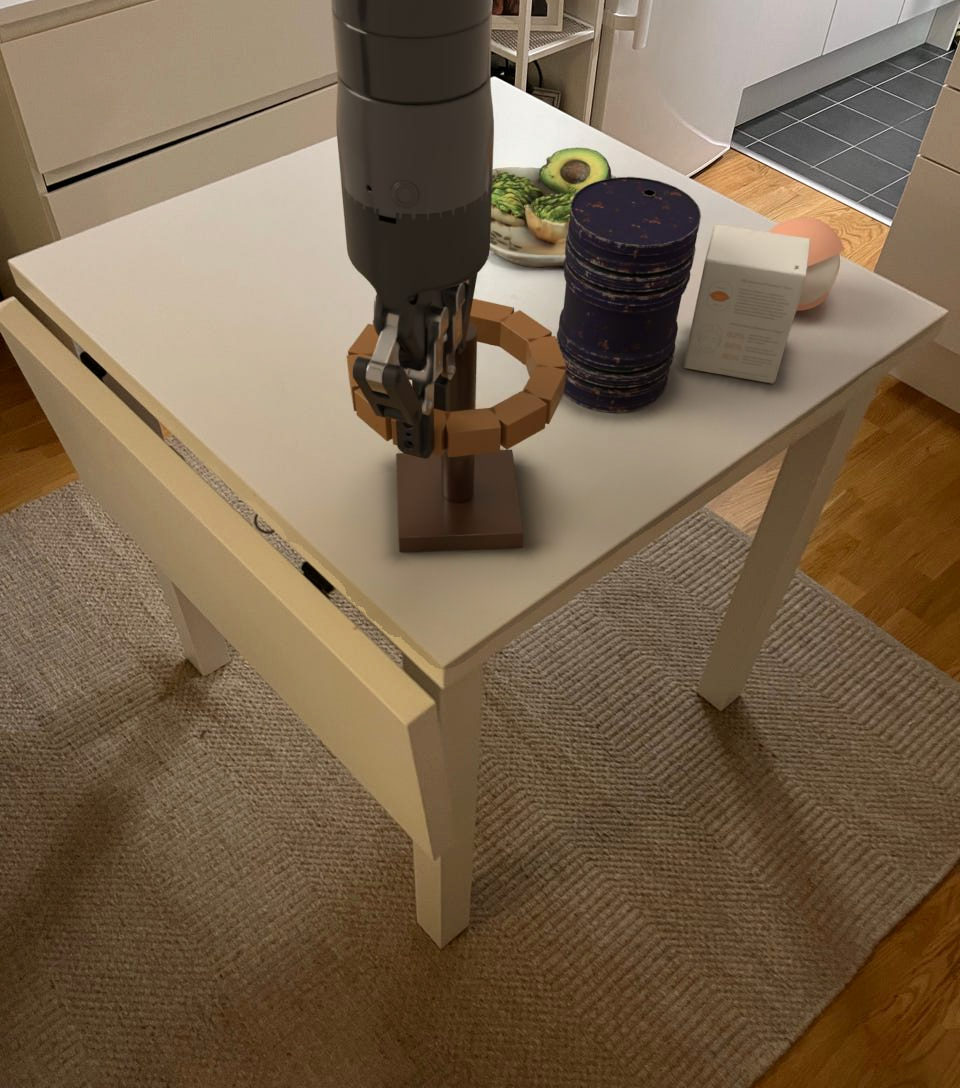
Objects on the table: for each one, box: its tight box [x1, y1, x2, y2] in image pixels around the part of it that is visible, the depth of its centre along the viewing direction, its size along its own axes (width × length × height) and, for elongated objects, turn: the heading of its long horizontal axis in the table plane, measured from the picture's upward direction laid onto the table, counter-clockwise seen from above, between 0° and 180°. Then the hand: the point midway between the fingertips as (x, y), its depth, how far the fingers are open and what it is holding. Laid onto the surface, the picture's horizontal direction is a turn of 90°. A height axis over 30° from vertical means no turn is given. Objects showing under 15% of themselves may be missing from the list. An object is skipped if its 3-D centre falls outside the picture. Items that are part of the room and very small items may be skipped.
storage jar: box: [556, 176, 702, 414], centre depth 79 cm, size 10×10×15 cm
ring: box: [346, 298, 566, 457], centre depth 66 cm, size 14×14×2 cm
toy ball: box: [768, 216, 845, 312], centre depth 89 cm, size 8×8×8 cm
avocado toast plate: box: [490, 147, 617, 268], centre depth 97 cm, size 19×18×5 cm
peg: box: [395, 322, 525, 553], centre depth 69 cm, size 9×9×16 cm
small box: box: [683, 223, 810, 384], centre depth 83 cm, size 8×6×10 cm
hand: (423, 438), depth 63 cm, fingers closed on ring, 2 cm apart
